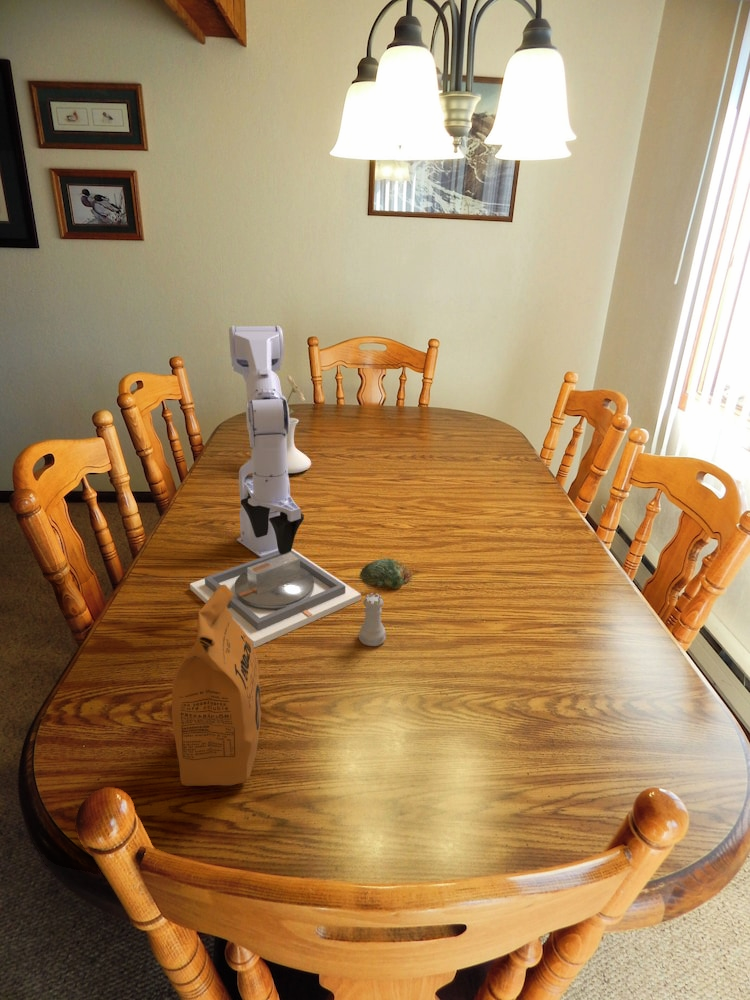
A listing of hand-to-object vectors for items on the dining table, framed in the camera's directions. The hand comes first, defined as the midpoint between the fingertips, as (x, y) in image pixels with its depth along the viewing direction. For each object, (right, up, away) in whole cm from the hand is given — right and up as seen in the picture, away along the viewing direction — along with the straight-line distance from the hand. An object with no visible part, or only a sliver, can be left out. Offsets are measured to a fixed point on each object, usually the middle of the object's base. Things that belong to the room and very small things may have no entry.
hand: (273, 543), depth 108 cm
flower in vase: (-5, +16, +62) cm, 64 cm away
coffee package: (-1, -25, -29) cm, 38 cm away
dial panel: (0, -9, +4) cm, 10 cm away
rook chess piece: (+17, -15, -7) cm, 24 cm away
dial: (0, -8, +4) cm, 9 cm away
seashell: (+20, -7, +12) cm, 24 cm away
